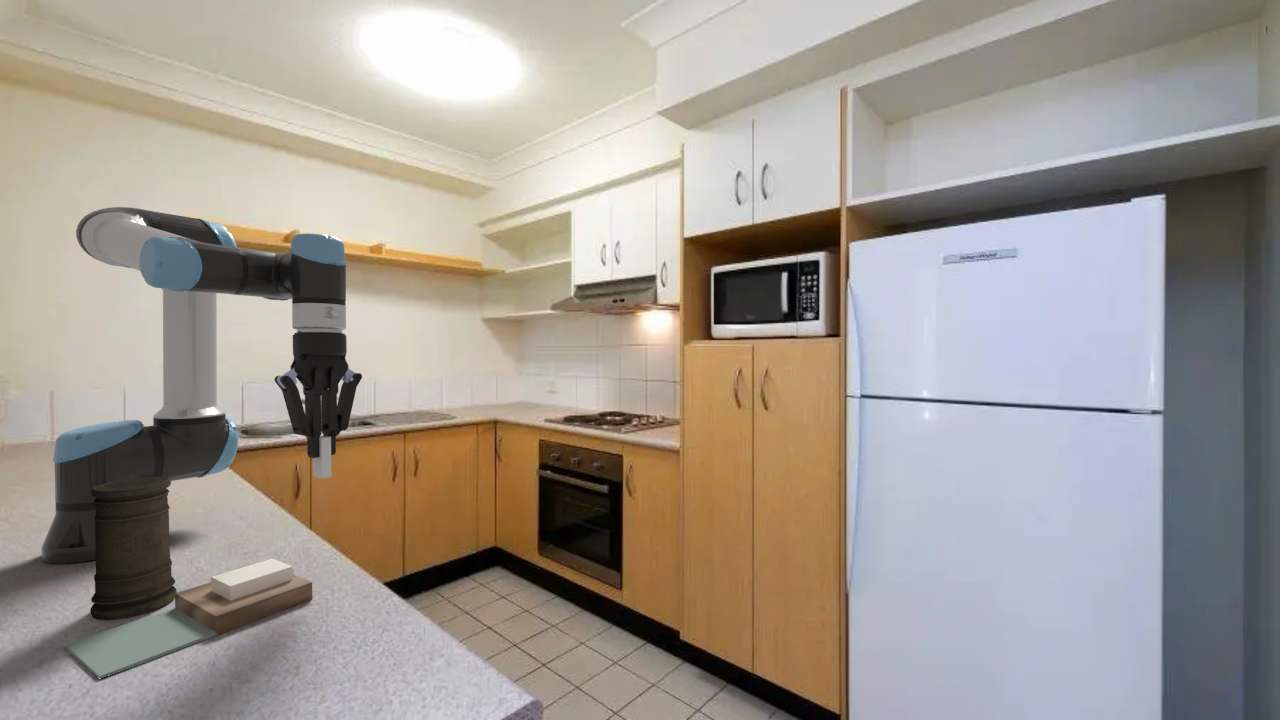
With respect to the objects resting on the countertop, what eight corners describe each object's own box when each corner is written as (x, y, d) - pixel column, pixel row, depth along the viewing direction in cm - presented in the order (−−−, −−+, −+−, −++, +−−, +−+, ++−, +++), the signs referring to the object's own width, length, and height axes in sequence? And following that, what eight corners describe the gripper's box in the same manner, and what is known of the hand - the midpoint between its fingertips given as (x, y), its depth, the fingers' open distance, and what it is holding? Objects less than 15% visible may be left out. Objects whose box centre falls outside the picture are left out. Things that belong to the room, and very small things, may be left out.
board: (175, 610, 76) (174, 593, 76) (268, 580, 87) (268, 564, 87) (216, 635, 70) (216, 616, 70) (312, 598, 80) (312, 582, 80)
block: (211, 590, 77) (211, 576, 77) (272, 571, 84) (272, 558, 84) (230, 600, 74) (230, 586, 74) (292, 579, 81) (292, 566, 81)
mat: (64, 647, 67) (64, 644, 67) (175, 610, 76) (175, 607, 76) (99, 679, 60) (99, 676, 60) (216, 635, 70) (216, 632, 70)
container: (190, 596, 81) (188, 477, 80) (115, 625, 72) (113, 492, 72) (151, 588, 84) (149, 473, 83) (75, 615, 75) (73, 487, 75)
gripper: (288, 329, 79) (291, 488, 80) (371, 332, 91) (373, 471, 91) (263, 331, 83) (266, 482, 84) (346, 333, 94) (348, 467, 95)
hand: (322, 476), depth 87 cm, fingers closed
